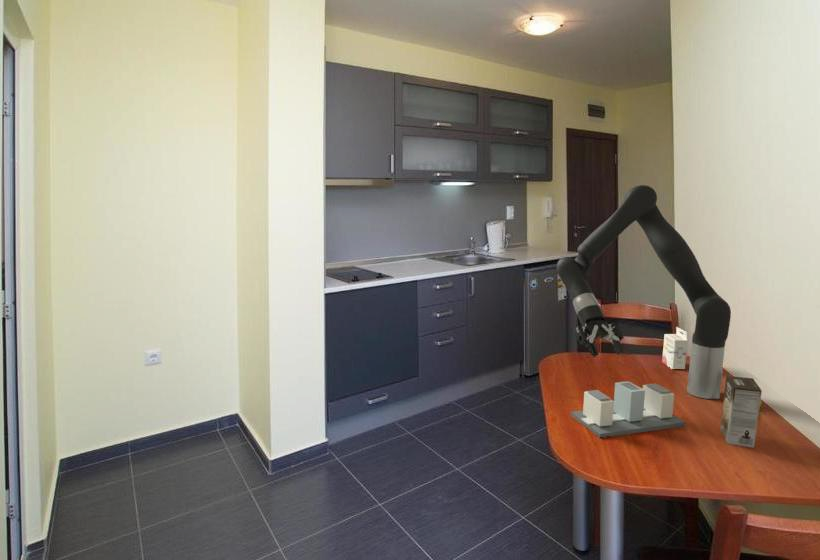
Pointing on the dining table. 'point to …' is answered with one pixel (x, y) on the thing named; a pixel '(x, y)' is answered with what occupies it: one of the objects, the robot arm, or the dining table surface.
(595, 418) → the module
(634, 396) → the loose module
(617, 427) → the mounting board
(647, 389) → the module
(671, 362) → the ink cartridge box
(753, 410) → the coffee box
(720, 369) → the robot arm
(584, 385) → the dining table surface
